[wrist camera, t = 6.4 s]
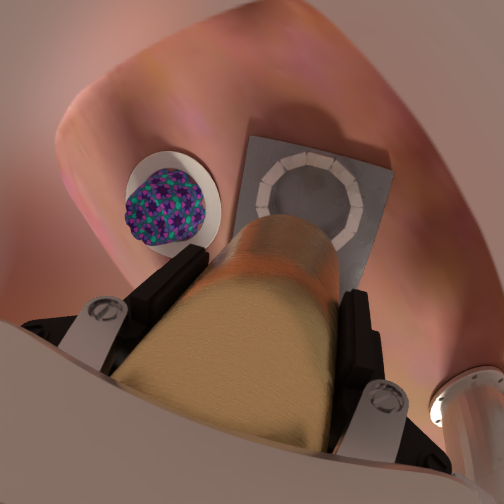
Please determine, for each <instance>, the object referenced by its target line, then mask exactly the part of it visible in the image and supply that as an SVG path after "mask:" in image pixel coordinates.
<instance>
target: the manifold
mask: <svg viewBox="0 0 504 504" xmlns="http://www.w3.org/2000/svg"><path fill="white" fill-rule="evenodd" d="M393 176H394V171H393V170H391V169H388V168H385V167H382V166H379V165H376V164H372V163H369V162H365V161H362V160H359V159H355V158H352V157H348V156H344V155H341V154H337V153H333V152H329V151H325V150H321V149H317V148H313V147H309V146H305V145H300V144H296V143H291V142H287V141H282V140H277V139H272V138H267V137H262V136H257V135H250V137H249V143H248V148H247V154H246V160H245V166H244V171H243V177H242V183H241V189H240V195H239V201H238V207H237V213H236V219H235V225H234V232H233V238H234V237H235V236H236V235H237V234H238V233H239V232H240V231H241V230H242V229H243V228H244V227H245V226H246V225H247V224H249V223H250V222H252V221H254V220H256V219H258V218H261V217H264V216H268V215H275V214H285V215H292V216H296V217H299V218H302V219H305V220H307V221H309V222H311V223H312V224H314V225H315V226H317V227H318V228H319V229H320V230H321V231H323V232H324V234H325V235H326V236H327V237H328V238H329V240H330V241H331V243H332V244H333V246H334V248H335V250H336V253H337V256H338V261H339V306H340V304H341V301H342V298H343V296H344V293H345V291H349V292H350V291H351V290H352V288H353V289H357V287H358V285H359V282H360V279H361V277H362V274H363V271H364V269H365V266H366V263H367V260H368V257H369V254H370V252H371V249H372V246H373V243H374V240H375V237H376V234H377V230H378V227H379V224H380V221H381V218H382V215H383V211H384V208H385V205H386V201H387V198H388V194H389V191H390V187H391V183H392V180H393ZM233 238H232V239H233Z"/></svg>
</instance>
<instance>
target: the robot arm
mask: <svg viewBox="0 0 504 504" xmlns="http://www.w3.org/2000/svg"><path fill="white" fill-rule="evenodd" d="M208 262H209V253H208V252H206V251H205V247H201V246H198V245H194V244H189V245H188V246H186V247H185V248H184V249H183V250H182V251H180V252H179V253H178V254H177V255H176V256H175V257H173V258H172V259H171V260H170V261H169V262H167V263H166V264H165V265H164V266H163V267H162V268H160V269H159V270H157V271H156V272H155V273H154V274H152V275H151V276H150V277H149V278H148V279H147V280H145V281H144V282H143V283H142V284H141V285H140V286H139V287H137V288H136V289H135V290H134V291H133V292H132V293H131V294H130V295H128V296H127V297H126V298H125V299H124V300H121V299H119V298H116V297H114V296H100V297H96V298H93V299H92V300H90V301H88V302H87V303H86V305H85V306H84V307H83V309H82V310H81V312H80V313H79V315H76V316H67V317H57V318H48V319H38V320H32V321H28V322H26V323H24V324H23V325H21V326H18V325H16V324H13V323H10V322H8V321H5V320H0V504H504V395H503V394H504V374H503V372H502V371H501V370H500V369H499V368H496V367H493V366H481V367H476V368H473V369H470V370H467V371H465V372H463V373H461V374H459V375H457V376H456V377H454V378H452V379H451V380H450V381H448V382H447V383H446V384H445V385H444V386H443V387H442V388H440V389H439V391H438V392H437V393H436V394H435V395H434V397H433V399H432V400H431V403H430V406H429V414H430V418H431V421H432V422H433V423H434V424H435V425H437V426H440V427H442V428H443V434H444V440H445V447H446V453H445V452H444V451H442V450H441V449H440V448H439V447H438V446H437V445H436V444H435V443H434V442H433V441H432V440H431V439H430V438H429V437H428V436H427V435H426V434H424V433H423V432H422V431H421V430H420V429H419V428H418V427H417V426H416V425H415V424H414V423H413V422H412V421H411V420H410V419H409V418H408V417H407V412H408V407H409V400H408V398H407V395H406V393H405V392H404V391H403V389H402V388H400V387H399V386H398V385H397V384H395V383H393V382H391V381H387V380H385V373H384V363H383V354H382V346H381V338H380V333H379V332H378V331H374V330H372V327H371V318H370V310H369V302H368V294H367V292H364V291H360V290H357V289H353V288H352V290H351V291H350V292H349V291H345V293H344V296H343V298H342V301H341V304H340V306H339V317H338V340H337V358H336V372H335V385H334V396H333V406H332V416H331V424H330V433H329V441H328V448H327V453H324V452H319V451H314V450H309V449H305V448H300V447H296V446H292V445H288V444H284V443H280V442H276V441H272V440H268V439H265V438H261V437H258V436H254V435H250V434H246V433H241V432H238V431H234V430H231V429H227V428H224V427H220V426H217V425H214V424H211V423H208V422H205V421H203V420H200V419H197V418H194V417H192V416H189V415H187V414H185V413H182V412H180V411H177V410H175V409H173V408H171V407H169V406H167V405H165V404H163V403H161V402H159V401H157V400H155V399H153V398H151V397H149V396H147V395H145V394H143V393H141V392H139V391H137V390H135V389H133V388H131V387H128V386H126V385H124V384H122V383H120V382H118V381H116V380H115V379H113V378H111V377H110V376H111V375H112V374H113V373H114V371H115V370H116V369H117V368H118V367H119V366H120V364H121V363H122V362H123V361H124V360H125V359H126V358H127V356H128V355H129V354H130V353H131V352H132V351H133V349H134V348H135V347H136V346H137V345H138V344H139V343H140V341H141V340H142V339H143V338H144V337H145V336H146V335H147V333H148V332H149V331H150V330H151V329H152V328H153V327H154V326H155V324H156V323H157V322H158V321H159V320H160V319H161V318H162V316H163V315H164V314H165V313H166V312H167V311H168V310H169V309H170V307H171V306H172V305H173V304H174V303H175V302H176V301H177V300H178V299H179V297H180V296H181V295H182V294H183V293H184V292H185V291H186V290H187V288H188V287H189V286H190V285H191V284H192V283H193V282H194V281H195V280H196V279H197V277H198V276H199V275H200V274H201V273H202V272H203V271H204V270H205V269H206V268H207V266H208ZM446 454H447V455H446Z"/></svg>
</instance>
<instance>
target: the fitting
mask: <svg viewBox="0 0 504 504" xmlns="http://www.w3.org/2000/svg"><path fill="white" fill-rule="evenodd" d="M338 317H339V261H338V256H337V253H336V250H335V248H334V246H333V244H332V243H331V241H330V240H329V238H328V237H327V236H326V235H325V234H324V232H323V231H321V230H320V229H319V228H318V227H317V226H315V225H314V224H312V223H311V222H309V221H307V220H305V219H302V218H299V217H296V216H292V215H285V214H275V215H268V216H264V217H261V218H258V219H256V220H254V221H252V222H250V223H249V224H247V225H246V226H245V227H244V228H243V229H242V230H241V231H240V232H239V233H238V234H237V235H236V236H235V237H234V238H233V239H232V240H231V241H230V242H229V243H228V245H227V246H226V247H225V248H224V249H223V250H222V251H221V252H220V253H219V254H218V255H217V257H216V258H215V259H214V260H213V261H212V262H211V263H210V264H209V265H208V266H207V268H206V269H205V270H204V271H203V272H202V273H201V274H200V275H199V276H198V277H197V279H196V280H195V281H194V282H193V283H192V284H191V285H190V286H189V287H188V288H187V290H186V291H185V292H184V293H183V294H182V295H181V296H180V297H179V299H178V300H177V301H176V302H175V303H174V304H173V305H172V306H171V307H170V309H169V310H168V311H167V312H166V313H165V314H164V315H163V316H162V318H161V319H160V320H159V321H158V322H157V323H156V324H155V326H154V327H153V328H152V329H151V330H150V331H149V332H148V333H147V335H146V336H145V337H144V338H143V339H142V340H141V341H140V343H139V344H138V345H137V346H136V347H135V348H134V349H133V351H132V352H131V353H130V354H129V355H128V356H127V358H126V359H125V360H124V361H123V362H122V363H121V364H120V366H119V367H118V368H117V369H116V370H115V371H114V373H113V374H112V375H111V376H110V377H111V378H113V379H115V380H116V381H118V382H120V383H122V384H124V385H126V386H128V387H131V388H133V389H135V390H137V391H139V392H141V393H143V394H145V395H147V396H149V397H151V398H153V399H155V400H157V401H159V402H161V403H163V404H165V405H167V406H169V407H171V408H173V409H175V410H177V411H180V412H182V413H185V414H187V415H189V416H192V417H194V418H197V419H200V420H203V421H205V422H208V423H211V424H214V425H217V426H220V427H224V428H227V429H231V430H234V431H238V432H241V433H246V434H250V435H254V436H258V437H261V438H265V439H268V440H272V441H276V442H280V443H284V444H288V445H292V446H296V447H300V448H305V449H309V450H314V451H319V452H324V453H327V448H328V441H329V433H330V424H331V416H332V406H333V396H334V385H335V372H336V358H337V340H338Z"/></svg>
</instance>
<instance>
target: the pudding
mask: <svg viewBox="0 0 504 504" xmlns="http://www.w3.org/2000/svg"><path fill="white" fill-rule="evenodd" d="M164 168H174V169H179V170H176V171H174V172H172V173H171V172H169V171H168V170H166V169H164ZM160 169H162V170H160ZM158 170H159V171H158ZM180 170H181V171H180ZM156 171H157V172H156ZM183 171H184V172H183ZM154 172H156V173H154ZM153 173H154V174H153ZM186 173H187V174H189V175H190V176H191V177H192V178H193V179H194V180H195V181H196V182H197V184H198V185H199V186H198V185H197V184H194V183H191V182H190V179H189V177H188V175H187V174H186ZM151 174H153V175H152V176H151V177H150V178H149V179H148V177H149V176H150V175H151ZM199 187H200V188H201V189H200V188H199ZM201 190H202V191H201ZM202 193H203V194H202ZM203 195H204V198H205V203H206V216H205V209H204V207H203V206H202V204H201V202H202V199H203ZM126 209H127V212H126V214H125V221H126V223H127V225H128V226H129V227H130V228H131V233H132V235H133V236H134V237H135V238H136V239H137V240H142V241H143V242H144V243H145V244H146V245H147V246H148V247H149V248H151V249H152V250H154V251H155V252H157V253H159V254H161V255H163V256H166V257H170V258H173V257H175V256H176V255H177V254H178V253H179V252H180V251H182V250H183V249H184V248H185V247H186V246H188V245H189V244H194V245H198V246H201V247H205V249H206V248H207V247H208V246H209V245H210V243H211V242H212V241H213V239H214V238H215V236H216V234H217V232H218V228H219V225H220V219H221V202H220V198H219V193H218V190H217V188H216V185H215V183H214V181H213V180H212V178H211V176H210V175H209V173H208V172H207V171H206V170H205V169H204V167H203V166H202V165H200V164H199V163H198V162H197V161H196V160H194V159H193V158H191V157H189V156H187V155H185V154H182V153H179V152H173V151H162V152H157V153H154V154H152V155H150V156H148V157H146V158H145V159H143V160H142V161H141V162H140V163H139V164H138V165H137V166H136V167H135V169H134V170H133V172H132V174H131V176H130V178H129V181H128V184H127V188H126ZM204 218H205V220H204ZM203 220H204V223H203V225H202V227H201V229H200V230H199V232H198V233H197V234H196V235H195V233H196V232H197V225H198V224H200V223H202V222H203ZM194 235H195V236H194ZM193 236H194V237H193ZM190 237H192V238H190ZM188 238H190V239H189V240H186V241H182V242H175V241H179V240H184V239H188Z"/></svg>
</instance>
